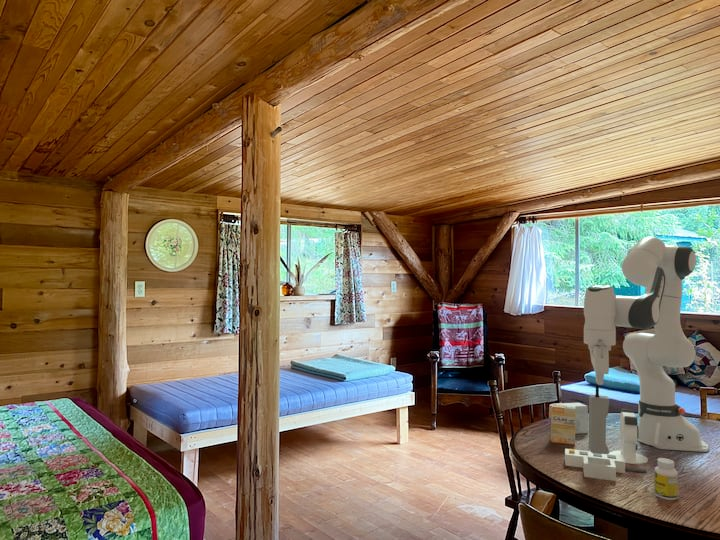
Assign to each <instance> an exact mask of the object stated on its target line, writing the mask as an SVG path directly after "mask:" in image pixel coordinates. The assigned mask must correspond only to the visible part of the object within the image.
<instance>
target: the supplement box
mask: <svg viewBox="0 0 720 540" xmlns="http://www.w3.org/2000/svg"><path fill="white" fill-rule="evenodd" d="M550 414H551V416H550V417H551V419H550V420H551V421H550V422H551V423H550V425H551V426H550V427H551V428H550V442H551V443H557V444H562V445H563V444H565V445H573V446H575V445H576V434H575V421H576V408H575V406H567V405H557V404H555V403H551V413H550Z"/></svg>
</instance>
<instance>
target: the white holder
mask: <svg viewBox="0 0 720 540" xmlns="http://www.w3.org/2000/svg"><path fill="white" fill-rule="evenodd" d="M638 425H639V421H638V417H637V416H636V414H635V412H634V411H633V409H628V408H620V418H619V430H620V450H613V451H609V454H615V455H623V457H624V460H625V464H629V463H630V465H631V464H632V465H643V463H644V464H647V463H648V461H649V459H648V457H646V456H645V455H642V454H640V453H637V451H638V448H639V447H638V440H637V438H638V437H639V431H638Z"/></svg>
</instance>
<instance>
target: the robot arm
mask: <svg viewBox="0 0 720 540" xmlns="http://www.w3.org/2000/svg"><path fill="white" fill-rule="evenodd" d="M696 265H697V255H696V252H695V250H694V249H693V248H692V247H689V246H686V245H672V244H665V243H664V241H663V240H661V239H660V238H658V237H654V236H646V237H643V238H641V239H640V240H638V241H637V242H636V243H635V244H634V245H633V246H632V247H631V248H629V250H628V251H627V253H626V256H625V257H624V259H623V260H622V263H621V271H622V274H623V275H624V277H625V278H626V279H627V281H629V282H630V283H631V284H633V285H635V286H638V287H639V286H640V287H643V288H645V291H644V294H641V295H631V296H630V295H619V294H618V295H617V294H615V290H614V288H613V286H612V285H609V284H597V285H595V284H594V285H590V286H588V287H587V288H586V290H585V295H584V300H583V301H584V302H583V316H584V324H583V325H584V326H583V344H585V345H587V346H588V350H589V354H590V361H591V365H592V367H593V370H594V373H595V384H596V383H597V384H598V385H599V386H602V385H604V377H605V375H609V373H610V363H609V362H610V359H609V357H610V355H609V351H612V346H616V344H617V341H616V340H617V336H616V335H617V331H616V330H617V329H616V328H617V327H623V328H633V329H638V330H644V331H648V330H650V329H652V328H653V329H654V333H648V332H634V333H629V334H628V335H626V336H625V338H624V340H623V342H622V349H623V352H624V354H625V355H626V357H627V358H628V359H629V360H630V361H631V363H633V365H634V369H635V370H636V373H637V376H638V380H639V397H640V399H639V401H638V405H637V406H638V409H637V410H638V412H637V413H638V415H639V417H638V424H637V425H638V431H639V437H638V438H637V442H640V443H642V444H645V445H648V446H652V447H654V448H656V449H659V450H672V451H686V452H688V451H689V452H702V453H703V452H705V453H706V452H708V451H709V449H710V448H709V445H708V444H707V442H705V441H704V440H702V438H701V433H700V431H699V429H698V427H696V426H695V425H694V424H693V423H692V422H691V421H689V420H688V418H686V417H684V416H683V415H685V414H686V409H685V408H683V407H682V406H680V405H678V404H676V383H675V382H674V380H673V379H672V378H671V376H669V375H668V374H667V372H666V371H665V369H664V368H663V366H664V367H668V368H687V367H689V366H691V365H692V364H693V363H694V361H695V359H696V353H697V352H696V349H695V346H694V344H693V343H692V342H691V341H690V340H689V339H688V337H686V335H685V333H684V331H683V328H682V325H681V307H682V300H683V299H682V298H683V280H684V279H685V278H686V277H688V276H689V275H691V274H692V273H693V272H694V271H695V268H696Z"/></svg>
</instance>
